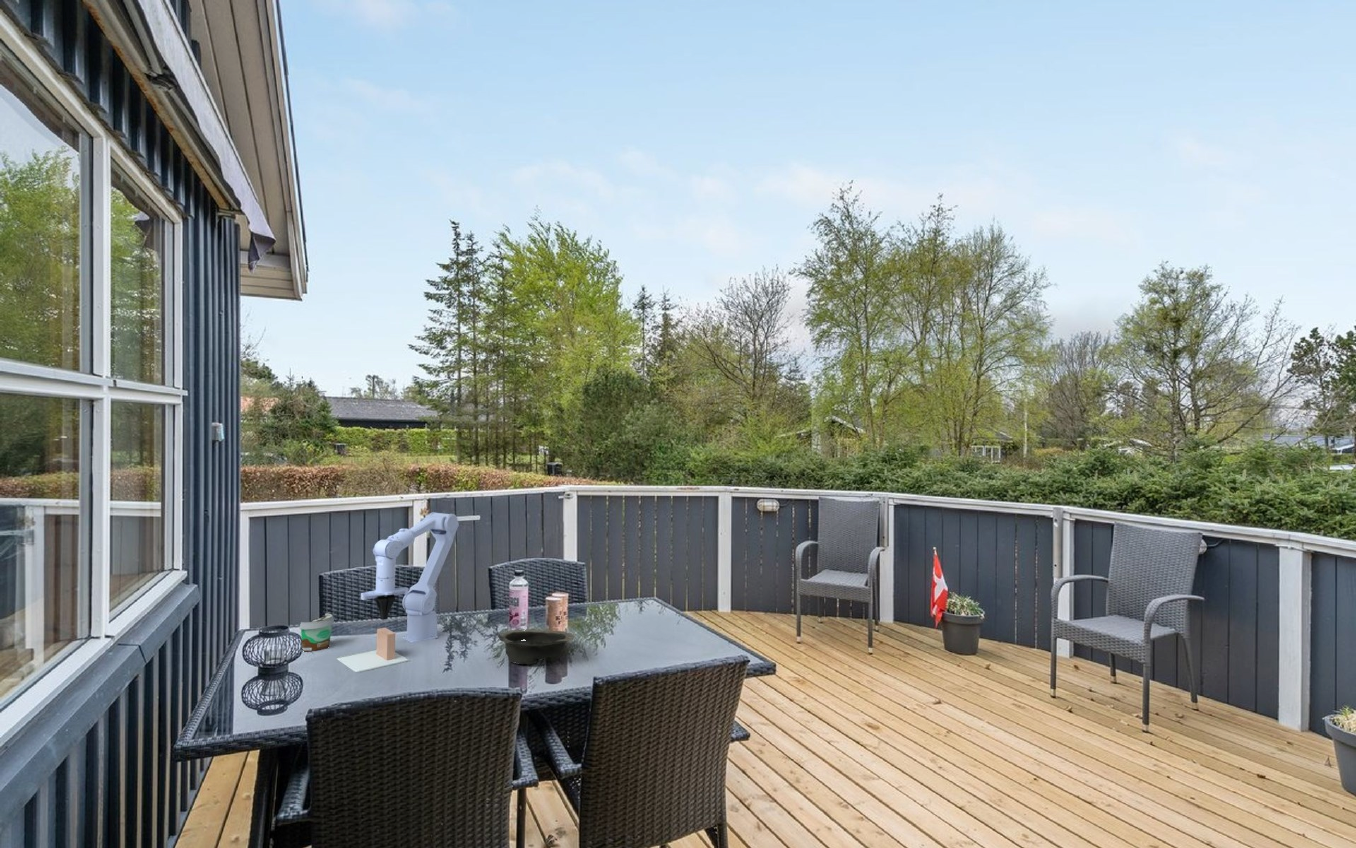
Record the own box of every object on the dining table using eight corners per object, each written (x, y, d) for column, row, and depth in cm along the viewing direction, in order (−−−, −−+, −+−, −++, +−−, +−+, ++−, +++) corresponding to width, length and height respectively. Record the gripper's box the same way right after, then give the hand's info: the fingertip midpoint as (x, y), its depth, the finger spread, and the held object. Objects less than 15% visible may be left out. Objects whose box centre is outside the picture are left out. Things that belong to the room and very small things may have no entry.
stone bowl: (504, 674, 205) (503, 642, 206) (491, 654, 228) (491, 626, 229) (584, 663, 215) (584, 633, 216) (564, 645, 238) (564, 618, 239)
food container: (315, 656, 218) (316, 624, 218) (298, 654, 219) (299, 622, 219) (342, 644, 230) (342, 614, 230) (325, 642, 231) (326, 612, 231)
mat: (386, 648, 227) (386, 646, 227) (410, 662, 214) (410, 660, 214) (335, 659, 216) (335, 657, 216) (356, 674, 203) (357, 672, 203)
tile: (384, 652, 221) (385, 627, 222) (395, 658, 216) (395, 633, 216) (376, 654, 220) (377, 629, 220) (386, 660, 214) (387, 634, 214)
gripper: (367, 581, 217) (365, 625, 216) (412, 576, 227) (411, 618, 226) (359, 578, 222) (357, 620, 221) (403, 573, 232) (402, 613, 231)
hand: (383, 619), depth 224 cm, fingers closed
